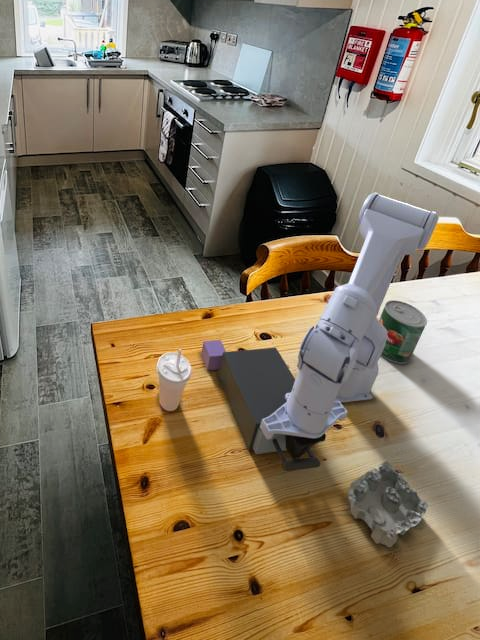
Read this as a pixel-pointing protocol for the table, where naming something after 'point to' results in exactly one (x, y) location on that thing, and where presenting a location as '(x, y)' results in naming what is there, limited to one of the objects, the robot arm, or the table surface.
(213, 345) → the purple cube
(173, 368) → the smoothie
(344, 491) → the table surface
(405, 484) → the egg carton
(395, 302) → the canned tomato
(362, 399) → the robot arm
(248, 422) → the dark grey drawer box
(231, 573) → the table surface
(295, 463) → the grey drawer
